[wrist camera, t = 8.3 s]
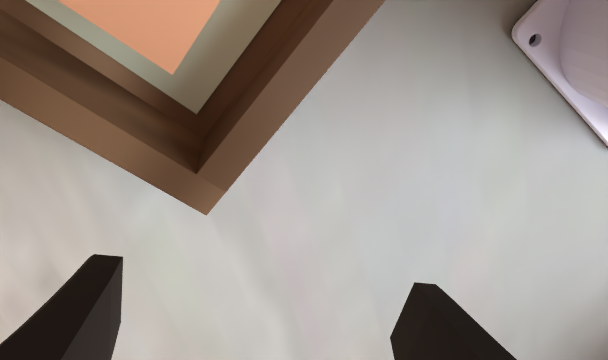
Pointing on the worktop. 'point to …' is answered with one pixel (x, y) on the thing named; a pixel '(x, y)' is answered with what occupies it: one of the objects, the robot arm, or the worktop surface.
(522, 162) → the worktop surface
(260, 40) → the arena
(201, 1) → the cube
